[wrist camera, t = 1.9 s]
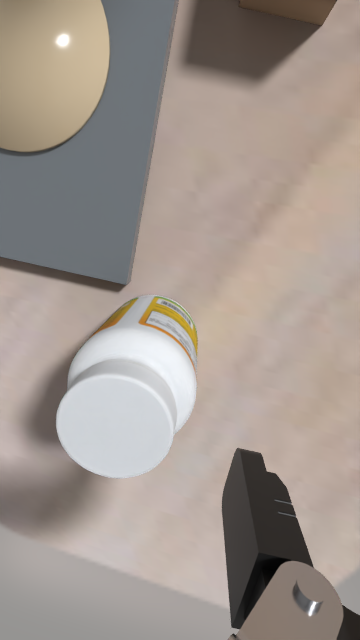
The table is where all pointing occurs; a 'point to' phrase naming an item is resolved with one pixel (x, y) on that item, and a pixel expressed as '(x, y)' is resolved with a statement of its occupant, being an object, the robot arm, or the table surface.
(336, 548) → the table surface
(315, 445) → the table surface
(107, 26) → the slate board
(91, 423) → the supplement bottle
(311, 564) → the robot arm
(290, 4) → the walnut block
